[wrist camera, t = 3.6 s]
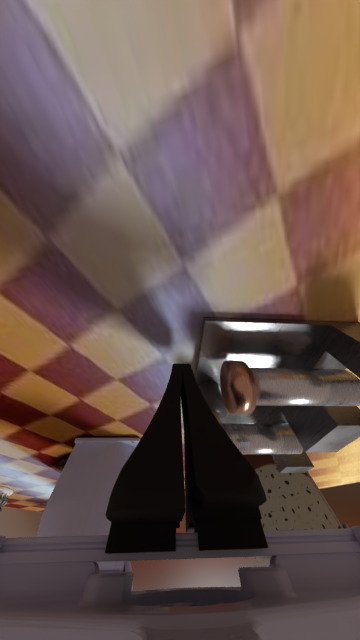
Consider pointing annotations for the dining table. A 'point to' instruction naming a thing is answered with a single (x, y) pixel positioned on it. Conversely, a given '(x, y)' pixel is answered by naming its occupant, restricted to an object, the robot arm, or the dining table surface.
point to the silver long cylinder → (263, 438)
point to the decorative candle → (4, 495)
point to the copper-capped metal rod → (285, 387)
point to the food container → (290, 500)
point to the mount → (287, 352)
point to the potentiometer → (214, 399)
